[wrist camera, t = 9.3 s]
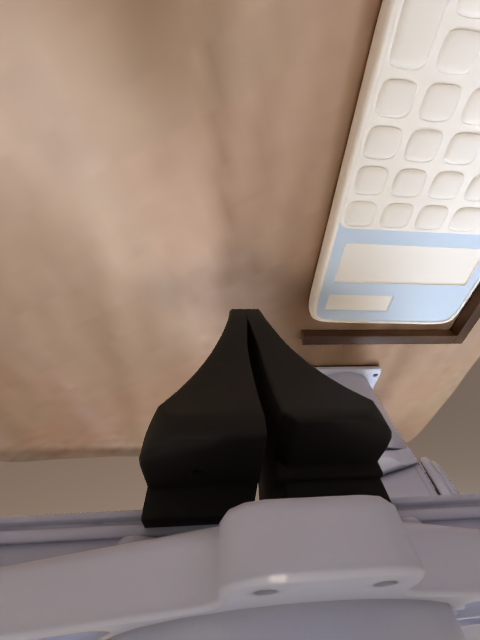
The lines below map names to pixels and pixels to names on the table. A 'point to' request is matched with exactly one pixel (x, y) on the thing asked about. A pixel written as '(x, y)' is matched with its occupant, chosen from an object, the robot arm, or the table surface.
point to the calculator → (408, 174)
